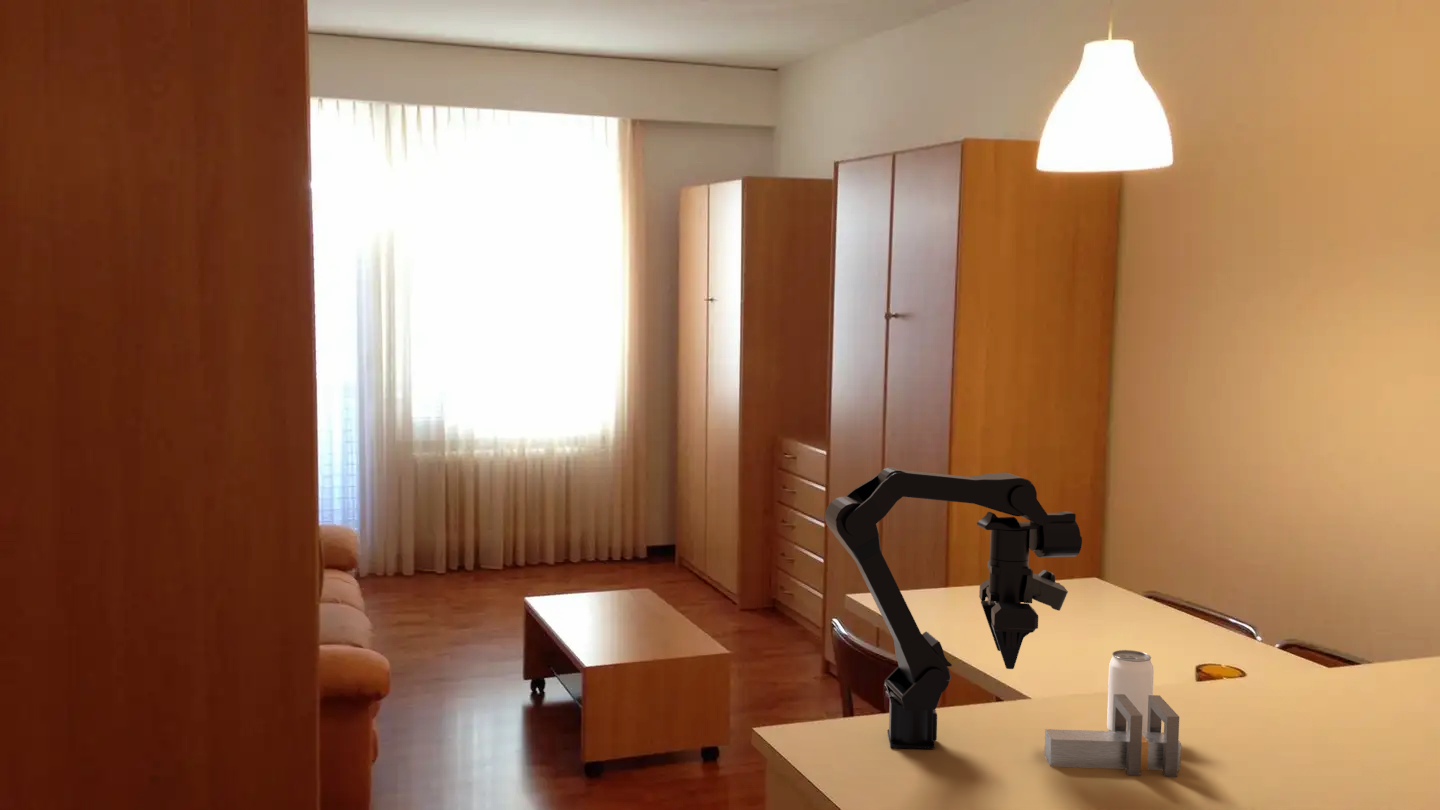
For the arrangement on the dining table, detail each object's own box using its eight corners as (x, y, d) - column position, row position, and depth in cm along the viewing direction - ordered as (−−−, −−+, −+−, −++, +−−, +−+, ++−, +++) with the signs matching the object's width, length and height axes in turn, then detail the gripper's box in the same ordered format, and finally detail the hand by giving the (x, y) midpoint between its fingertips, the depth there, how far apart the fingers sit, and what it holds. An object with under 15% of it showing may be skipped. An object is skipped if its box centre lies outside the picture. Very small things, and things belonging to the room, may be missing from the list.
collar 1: (1128, 775, 165) (1130, 715, 164) (1111, 751, 174) (1113, 694, 173) (1140, 775, 165) (1142, 715, 164) (1122, 751, 174) (1124, 694, 173)
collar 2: (1165, 776, 165) (1167, 716, 164) (1146, 752, 174) (1148, 695, 173) (1176, 776, 165) (1179, 716, 164) (1157, 752, 174) (1159, 695, 173)
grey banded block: (1050, 766, 168) (1051, 739, 168) (1044, 755, 172) (1045, 728, 172) (1179, 770, 167) (1181, 742, 167) (1170, 759, 171) (1171, 732, 171)
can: (1154, 740, 178) (1157, 662, 177) (1109, 737, 180) (1112, 660, 179) (1147, 725, 185) (1150, 650, 184) (1104, 722, 186) (1107, 647, 185)
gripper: (1076, 573, 168) (1072, 681, 169) (1052, 547, 186) (1048, 644, 187) (996, 570, 169) (992, 677, 170) (980, 544, 187) (977, 641, 189)
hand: (1005, 659), depth 179 cm, fingers open, 9 cm apart
